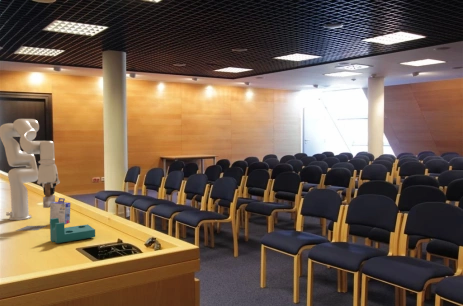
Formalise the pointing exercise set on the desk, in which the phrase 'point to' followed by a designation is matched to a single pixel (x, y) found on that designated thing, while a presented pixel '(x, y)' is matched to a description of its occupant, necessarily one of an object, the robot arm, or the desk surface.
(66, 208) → the ink cartridge box
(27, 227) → the tool mat
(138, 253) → the desk surface
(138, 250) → the desk surface
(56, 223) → the teal l-shaped bracket
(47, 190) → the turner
